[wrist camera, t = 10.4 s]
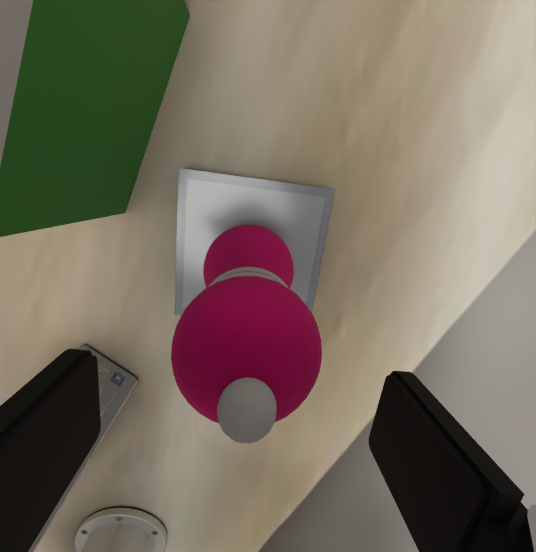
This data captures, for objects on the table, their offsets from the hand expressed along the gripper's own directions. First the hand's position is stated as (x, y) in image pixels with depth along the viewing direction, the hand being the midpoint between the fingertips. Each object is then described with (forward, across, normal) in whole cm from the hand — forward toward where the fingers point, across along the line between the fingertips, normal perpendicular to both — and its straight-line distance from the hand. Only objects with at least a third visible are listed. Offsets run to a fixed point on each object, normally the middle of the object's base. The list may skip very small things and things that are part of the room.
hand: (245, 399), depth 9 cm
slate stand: (+21, 0, -1) cm, 21 cm away
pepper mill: (+19, 0, -1) cm, 19 cm away
